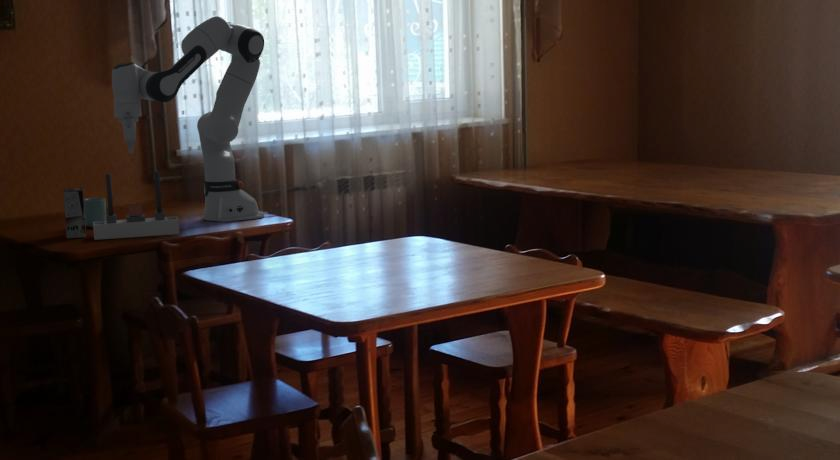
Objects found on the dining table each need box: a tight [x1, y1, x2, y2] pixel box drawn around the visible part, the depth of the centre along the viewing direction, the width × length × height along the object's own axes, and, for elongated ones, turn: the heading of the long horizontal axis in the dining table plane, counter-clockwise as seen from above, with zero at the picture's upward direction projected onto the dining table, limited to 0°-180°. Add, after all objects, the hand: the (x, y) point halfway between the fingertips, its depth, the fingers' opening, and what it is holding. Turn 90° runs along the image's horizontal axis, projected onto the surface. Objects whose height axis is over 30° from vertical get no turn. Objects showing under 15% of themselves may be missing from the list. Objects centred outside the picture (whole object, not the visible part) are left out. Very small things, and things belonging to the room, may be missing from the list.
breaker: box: [128, 204, 143, 216], centre depth 360 cm, size 4×1×3 cm, turn 105°
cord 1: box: [105, 173, 117, 224], centre depth 357 cm, size 3×4×16 cm
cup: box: [84, 197, 107, 228], centre depth 378 cm, size 8×8×10 cm
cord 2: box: [153, 171, 166, 220], centre depth 361 cm, size 3×4×16 cm
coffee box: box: [62, 187, 87, 239], centre depth 361 cm, size 9×6×16 cm
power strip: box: [92, 213, 180, 241], centre depth 361 cm, size 28×7×7 cm, turn 105°
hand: (131, 152), depth 356 cm, fingers closed
